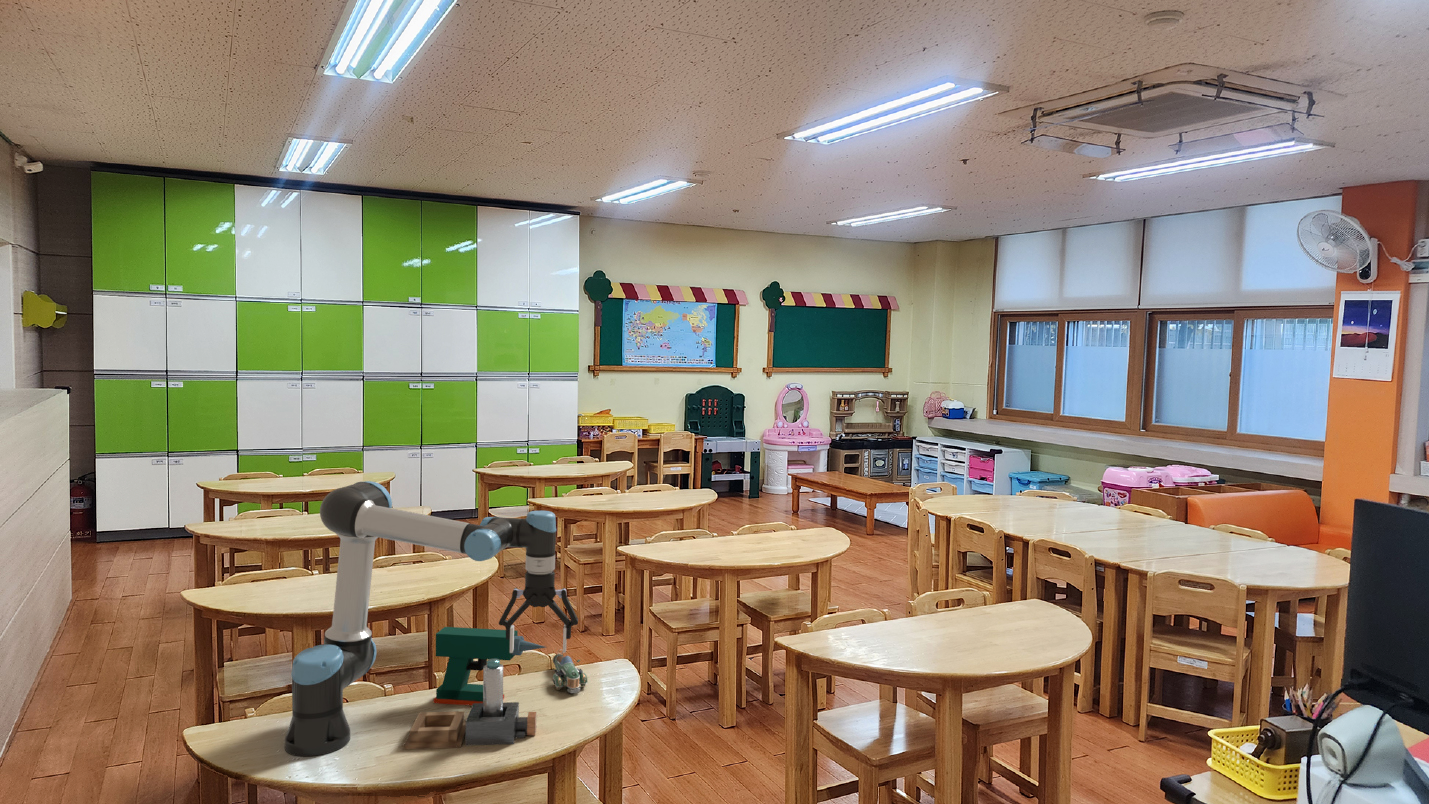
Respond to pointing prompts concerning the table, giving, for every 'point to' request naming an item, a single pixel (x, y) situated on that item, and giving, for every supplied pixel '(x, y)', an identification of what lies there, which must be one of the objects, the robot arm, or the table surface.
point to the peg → (493, 689)
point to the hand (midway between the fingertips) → (538, 651)
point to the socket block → (492, 726)
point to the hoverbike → (568, 674)
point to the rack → (437, 730)
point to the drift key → (527, 724)
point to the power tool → (462, 652)
